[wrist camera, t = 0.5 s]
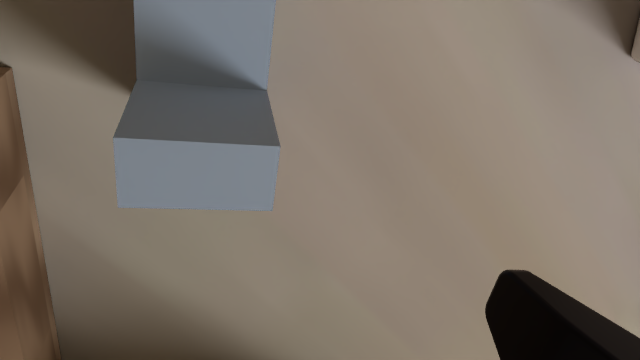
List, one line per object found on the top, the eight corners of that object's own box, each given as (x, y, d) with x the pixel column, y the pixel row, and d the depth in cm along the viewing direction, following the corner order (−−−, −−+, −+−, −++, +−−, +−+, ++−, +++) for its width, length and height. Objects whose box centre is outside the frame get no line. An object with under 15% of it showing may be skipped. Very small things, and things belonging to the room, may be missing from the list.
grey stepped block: (255, 110, 19) (272, 210, 13) (149, 103, 18) (117, 207, 12) (270, -54, 16) (300, -19, 10) (144, -73, 15) (100, -47, 9)
